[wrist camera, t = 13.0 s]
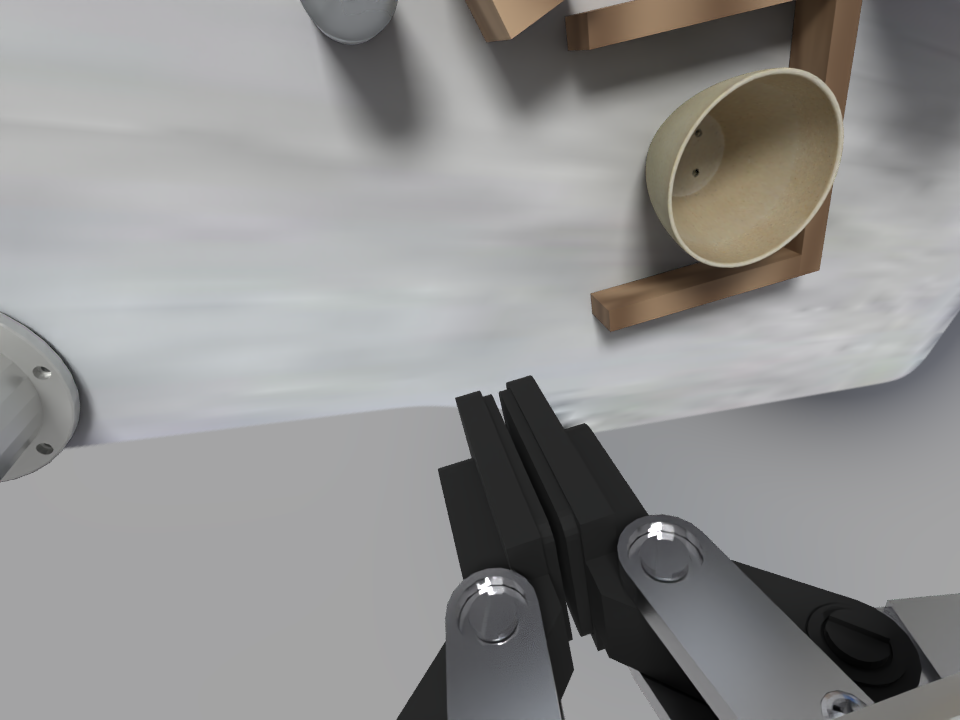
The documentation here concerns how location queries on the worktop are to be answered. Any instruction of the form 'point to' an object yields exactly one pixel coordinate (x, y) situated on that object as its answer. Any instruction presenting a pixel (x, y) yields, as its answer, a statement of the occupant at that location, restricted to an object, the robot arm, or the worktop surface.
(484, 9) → the walnut block
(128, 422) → the worktop surface
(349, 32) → the grey metal cylinder
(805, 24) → the bay
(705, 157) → the flower pot
